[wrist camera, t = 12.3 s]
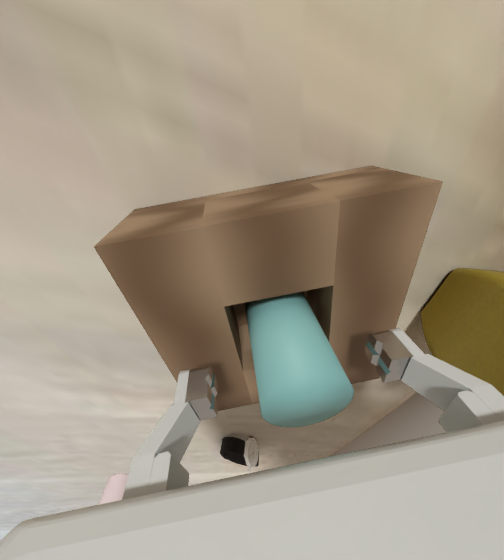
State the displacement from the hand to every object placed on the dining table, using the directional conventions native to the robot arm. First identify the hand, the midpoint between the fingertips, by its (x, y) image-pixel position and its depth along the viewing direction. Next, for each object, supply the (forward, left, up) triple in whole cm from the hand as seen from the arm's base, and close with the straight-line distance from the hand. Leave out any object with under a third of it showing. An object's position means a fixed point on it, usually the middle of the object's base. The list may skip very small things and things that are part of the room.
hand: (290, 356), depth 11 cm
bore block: (0, 0, -7) cm, 7 cm away
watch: (+7, +27, -7) cm, 29 cm away
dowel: (0, 0, -6) cm, 6 cm away
